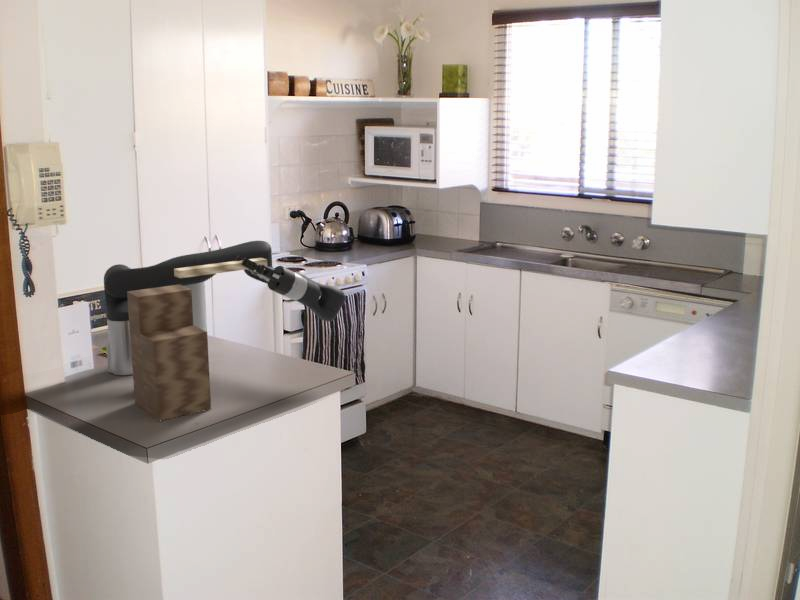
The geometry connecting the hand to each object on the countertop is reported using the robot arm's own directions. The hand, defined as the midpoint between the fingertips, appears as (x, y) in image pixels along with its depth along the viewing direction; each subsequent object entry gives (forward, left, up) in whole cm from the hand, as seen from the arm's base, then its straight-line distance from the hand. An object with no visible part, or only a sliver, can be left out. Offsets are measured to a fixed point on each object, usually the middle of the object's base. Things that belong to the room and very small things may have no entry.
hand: (240, 260), depth 236 cm
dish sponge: (-56, +31, -40) cm, 76 cm away
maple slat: (-4, -4, -2) cm, 6 cm away
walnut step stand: (-16, -13, -39) cm, 45 cm away
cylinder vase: (-34, +33, -40) cm, 62 cm away
